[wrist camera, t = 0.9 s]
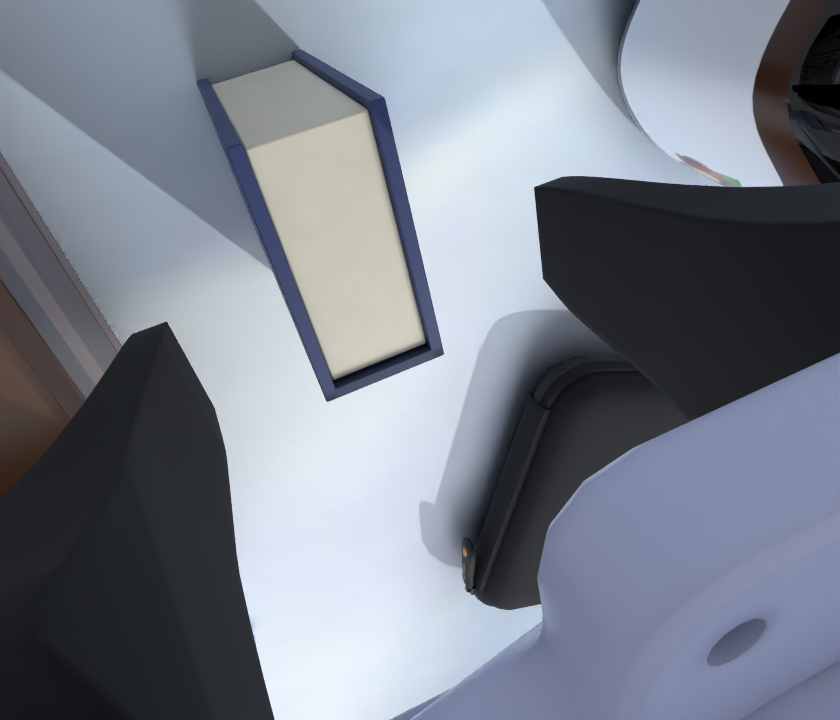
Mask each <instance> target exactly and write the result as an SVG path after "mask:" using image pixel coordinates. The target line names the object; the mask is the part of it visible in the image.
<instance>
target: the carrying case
mask: <svg viewBox="0 0 840 720" xmlns="http://www.w3.org/2000/svg"><path fill="white" fill-rule="evenodd" d="M688 422H689V421H688V420H687V419H686V418H685V417H684V416H683V415H682V414H681V413H680V412H679V410H678V409H677V408H676V407H675V406H674V405H673V404H672V403H671V402H670V401H669V400H668V398H667V397H666V396H665V395H664V394H663V393H662V392H661V391H660V390H659V389H658V388H657V387H656V386H655V385H654V384H653V383H652V382H651V381H650V380H649V379H648V378H647V377H645V376H644V375H643V374H642V373H641V372H640V371H639V370H638V369H636V368H635V367H634V366H633V365H632V364H630V363H629V362H628V361H627V360H626V359H625V358H623V357H622V356H579V357H576V358H572V359H570V360H568V361H565V362H561V363H559V364H556V365H554V366H552V367H551V368H549V369H548V370H547V371H546V372H545V373H544V375H543V376H542V378H541V379H540V381H539V383H538V385H537V387H536V389H535V391H534V393H531V392H530V393H529V394H528V395H527V398H526V405H525V407H524V410H523V413H522V416H521V419H520V422H519V425H518V427H517V430H516V433H515V436H514V439H513V442H512V445H511V448H510V450H509V453H508V456H507V459H506V462H505V465H504V468H503V470H502V473H501V476H500V479H499V482H498V485H497V488H496V490H495V493H494V496H493V499H492V502H491V505H490V508H489V511H488V513H487V516H486V519H485V522H484V525H483V528H482V531H481V533H480V536H479V539H478V542H477V545H476V548H475V549H474V546H473V543H472V542H471V540H470V539H468V538H466V537H465V538H464V540H463V542H462V577H463V581H464V583H465V584H466V587H465V589H466V591H467V592H470V593H471V595H473V594H474V595H475V596H476V598H477V599H478V600H480V601H481V602H482V603H484V604H486V605H489V606H493V607H496V608H499V609H505V610H513V609H518V608H523V607H528V606H533V605H538V604H541V598H540V592H539V586H538V580H537V575H538V571H539V566H540V561H541V557H542V552H543V548H544V543H545V538H546V534H547V531H548V528H549V526H550V524H551V522H552V521H553V520H554V519H555V517H556V516H557V515H558V513H559V512H560V511H561V510H562V508H563V507H564V506H565V504H566V503H567V502H568V501H569V499H570V498H571V497H572V495H573V494H574V493H575V492H576V490H577V489H578V488H579V486H580V485H581V484H582V483H583V481H585V480H586V479H588V478H589V477H590V476H592V475H593V474H595V473H596V472H598V471H599V470H601V469H602V468H604V467H605V466H607V465H608V464H610V463H611V462H613V461H614V460H616V459H617V458H619V457H620V456H622V455H623V454H625V453H626V452H627V451H629V450H630V449H632V448H634V447H636V446H638V445H640V444H642V443H645V442H647V441H649V440H651V439H653V438H656V437H658V436H660V435H662V434H664V433H666V432H669V431H671V430H673V429H675V428H677V427H679V426H682V425H684V424H686V423H688Z"/></svg>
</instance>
